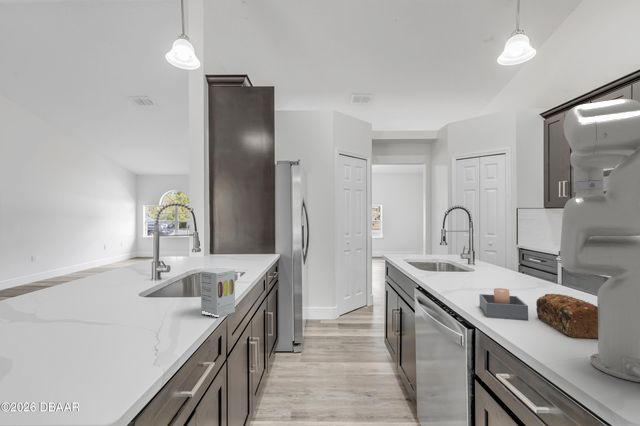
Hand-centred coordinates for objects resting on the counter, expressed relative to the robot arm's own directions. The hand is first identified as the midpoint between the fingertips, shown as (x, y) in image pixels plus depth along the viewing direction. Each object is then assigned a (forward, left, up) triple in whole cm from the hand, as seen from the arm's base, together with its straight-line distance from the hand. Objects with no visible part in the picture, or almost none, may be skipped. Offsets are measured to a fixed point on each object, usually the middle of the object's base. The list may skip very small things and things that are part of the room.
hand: (589, 238), depth 104 cm
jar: (+5, +25, -28) cm, 38 cm away
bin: (+5, +25, -28) cm, 38 cm away
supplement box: (-22, +129, -28) cm, 134 cm away
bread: (-6, +9, -29) cm, 31 cm away
